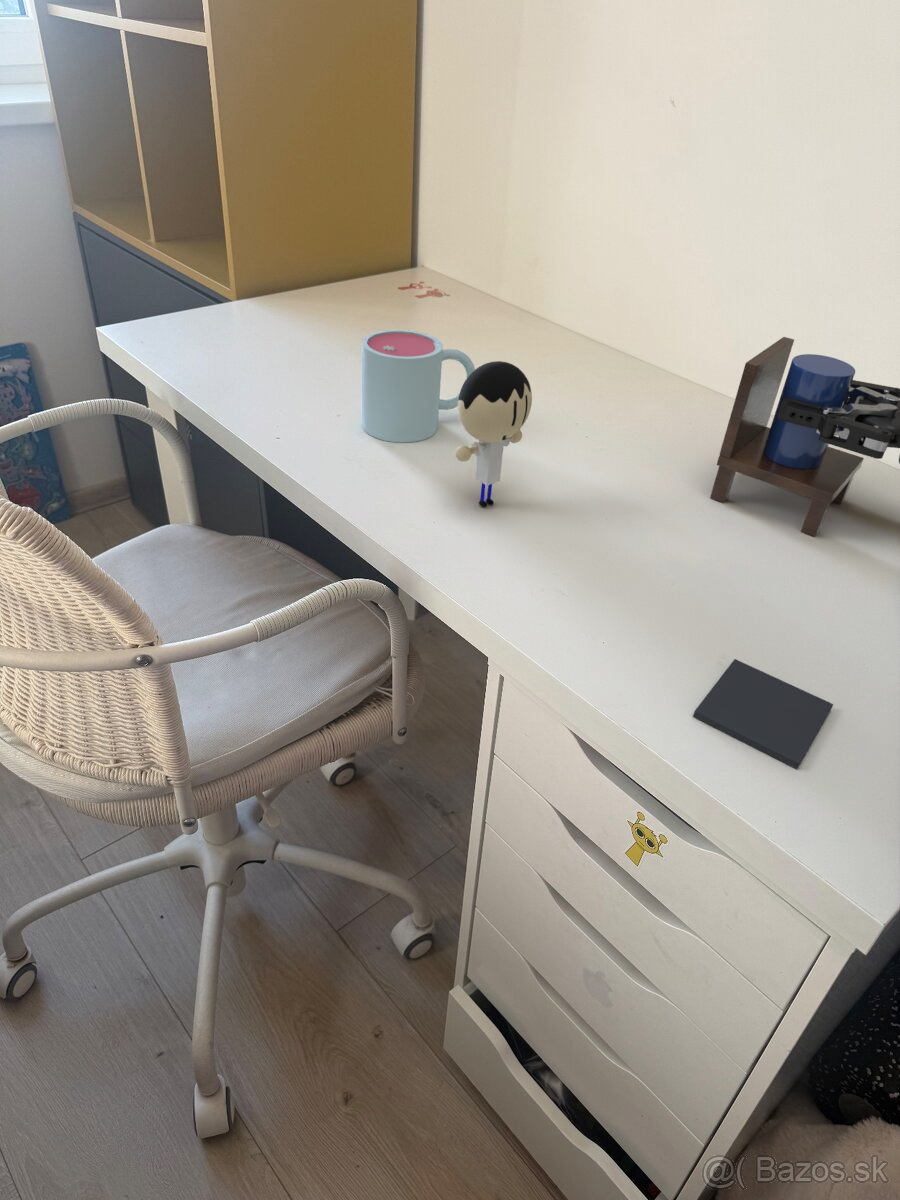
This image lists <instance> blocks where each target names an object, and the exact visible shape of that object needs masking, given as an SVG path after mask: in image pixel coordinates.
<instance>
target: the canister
mask: <svg viewBox="0 0 900 1200" xmlns="http://www.w3.org/2000/svg"><path fill="white" fill-rule="evenodd" d="M855 374H856V369H855V367H854V366H853V365H851V364H850V363H848V362H846V361H845V360H841V359H838V358H836V357H832V356H827V355H822V354H821V355H820V354H816V353H815V354H812V353H805V354H804V353H803V354H798V355H796V356H794V357H793V358H792V359H791V363H790V365H789V368H788V372H787V375H786V378H785V381H784V384H783V387H782V391H781V394H780V396H779V400H778V403H777V407H776V410H775V412H774V416H773V418H772V422H771V425H770V427H769V428H770V431H769V434H768V437H767V440H766V443H765V446H764V454H765V455H766V456H767V457H768V458H769V459H770V460H772V461H774V462H776V463H778V464H780V465H783V466H786V467H790V468H796V469H814V468H817V467H819V466H820V465H821V464H822V461H823V459H824V456H825V453H826V451H827V448H828V447H829V445H830V444H827V443H824V442H821V441H820V440H819V436H820V434H818V433H816V432H815V429H816V428H810V427H806V426H802V425H798V424H794V423H790V422H786V421H782V420H779V419H778V417H777V415H778V412H779V409H780V406H781V403H782V401H783V399H784V398H786V397H789V398H794V399H798V400H802V401H806V402H810V403H814V404H818V405H823V406H822V408H821V410H822V409H823V407H838V408H842V407H843V405H844V402H845V399H846V397H847V394H848V391H849V388H850V386H851V383H852V380H854V377H855Z"/></svg>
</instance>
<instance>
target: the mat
mask: <svg viewBox="0 0 900 1200" xmlns="http://www.w3.org/2000/svg"><path fill="white" fill-rule="evenodd" d="M833 707H834V703H831V702H830V701H828V700H825V699H823V698H821V697H819V696H816V695H814V694H812V693H810V692H807V691H806V690H804V689H802V688H799V687H798V686H795V685H792V684H790V683H788V682H786V681H784V680H781V679H780V678H777V677H775V676H773V675H771V674H769V673H767V672H764V671H762V670H760V669H758V668H756V667H753V666H752V665H749V664H747V663H745V662H743V661H741V660H738V659H736V658H735V659H733V660H732V662H731V663H730V664H729V666H728V667H727V668H726V669H725V670H724V672H723V674H722V675H721V676H720V677H719V679H718V680H717V681H716V683H715V684H714V685H713V686H712V687H711V689H710V690H709V691H708V693H707V694H706V696H705V697H704V698H703V699H702V700H701V702H700V703H699V705H698V706H697V707H696V708H695V710H694V711H693V715H692V717H693V718H695V719H697V720H699V721H700V722H703V723H704V724H706V725H709V726H711V727H712V728H714V729H716V730H719V731H721V732H722V733H725V734H727V735H729V736H730V737H732V738H734V739H737V740H738V741H741V742H742V743H744V744H747V745H748V746H749V747H752V748H754V749H756V750H758V751H760V752H762V753H764V754H766V755H768V756H770V757H771V758H774V759H776V760H778V761H779V762H781V763H784V764H786V765H788V766H790V767H792V768H794V769H795V770H797V769H798V768H799V767H800V765H801V764H802V762H803V760H804V758H805V756H806V755H807V753H808V752H809V749H810V748H811V746H812V744H813V742H814V740H815V739H816V737H817V735H818V734H819V732H820V730H821V728H822V727H823V725H824V723H825V721H826V720H827V718H828V716H829V714H830V712H831V711H832V708H833Z"/></svg>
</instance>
